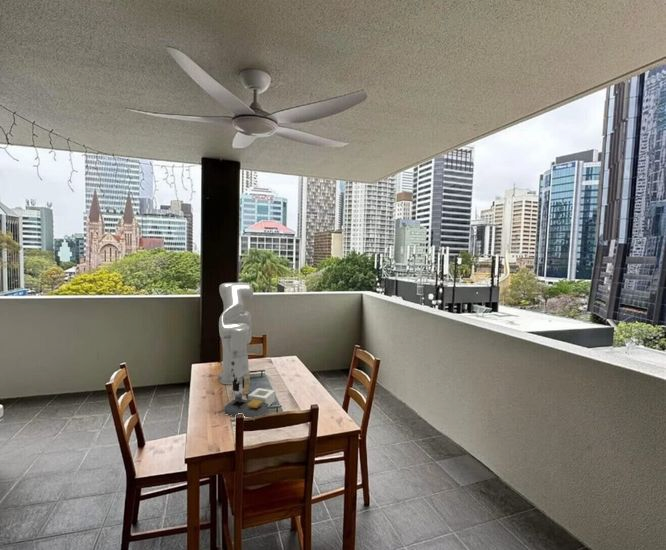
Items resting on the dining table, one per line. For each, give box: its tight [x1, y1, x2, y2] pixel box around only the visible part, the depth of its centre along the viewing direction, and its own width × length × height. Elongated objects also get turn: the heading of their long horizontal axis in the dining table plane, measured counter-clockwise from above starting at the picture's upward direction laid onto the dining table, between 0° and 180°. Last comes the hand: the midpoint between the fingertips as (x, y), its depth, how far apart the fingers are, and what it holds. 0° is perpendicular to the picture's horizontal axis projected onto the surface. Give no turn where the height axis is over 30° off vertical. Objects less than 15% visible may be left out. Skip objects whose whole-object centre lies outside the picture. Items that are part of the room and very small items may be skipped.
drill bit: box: [234, 376, 243, 401], centre depth 165 cm, size 4×4×12 cm
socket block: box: [223, 398, 269, 418], centre depth 164 cm, size 18×10×4 cm, turn 72°
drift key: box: [248, 399, 262, 409], centre depth 162 cm, size 5×5×5 cm
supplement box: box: [231, 370, 251, 397], centre depth 185 cm, size 8×5×13 cm, turn 122°
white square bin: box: [247, 387, 276, 408], centre depth 173 cm, size 10×10×6 cm
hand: (238, 388), depth 165 cm, fingers closed on drill bit, 3 cm apart
